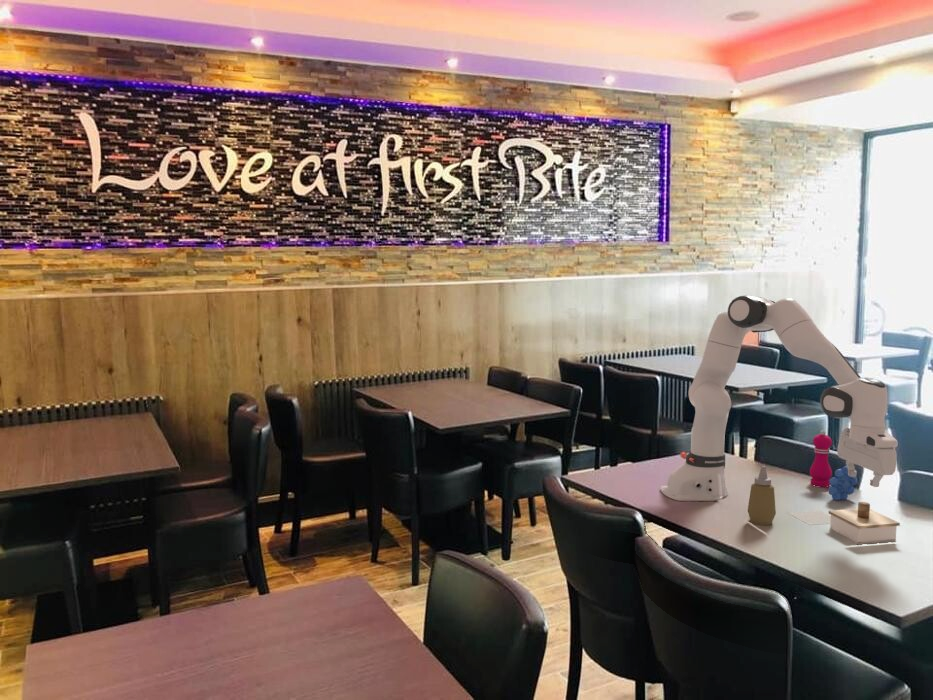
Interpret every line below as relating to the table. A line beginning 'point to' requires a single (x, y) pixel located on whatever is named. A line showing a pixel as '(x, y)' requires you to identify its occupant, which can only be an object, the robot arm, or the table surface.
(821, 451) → the pepper mill
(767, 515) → the squeeze bottle
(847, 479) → the grapes
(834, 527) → the white open box
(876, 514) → the lid
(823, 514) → the mat
